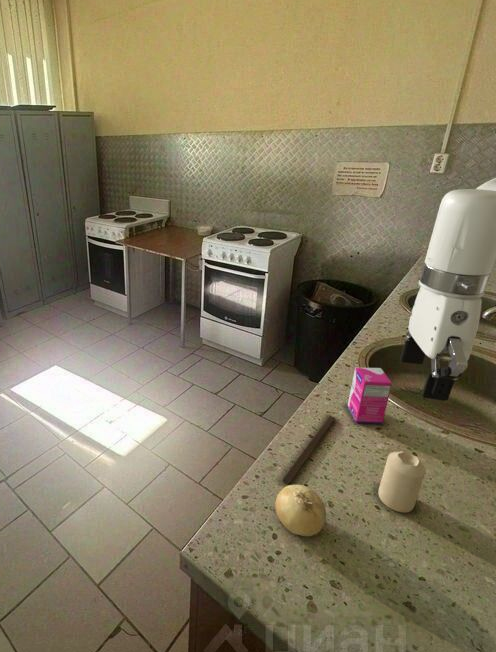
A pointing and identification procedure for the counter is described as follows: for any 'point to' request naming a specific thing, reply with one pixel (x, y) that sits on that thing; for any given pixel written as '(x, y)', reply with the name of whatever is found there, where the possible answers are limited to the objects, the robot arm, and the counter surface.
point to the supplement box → (369, 395)
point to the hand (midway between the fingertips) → (421, 379)
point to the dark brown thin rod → (308, 450)
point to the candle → (401, 481)
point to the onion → (300, 510)
